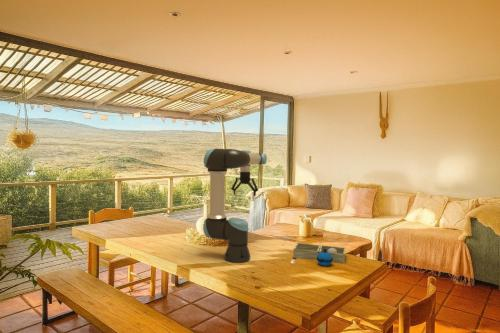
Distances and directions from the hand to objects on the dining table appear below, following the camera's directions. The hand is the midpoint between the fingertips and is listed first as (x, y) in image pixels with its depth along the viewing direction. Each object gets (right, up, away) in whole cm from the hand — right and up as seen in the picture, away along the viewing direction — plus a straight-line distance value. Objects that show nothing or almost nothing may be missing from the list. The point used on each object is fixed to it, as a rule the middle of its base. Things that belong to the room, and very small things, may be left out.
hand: (244, 200), depth 246 cm
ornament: (+46, -32, -58) cm, 81 cm away
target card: (+32, -31, -53) cm, 69 cm away
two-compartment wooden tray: (+46, -31, -44) cm, 71 cm away
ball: (+53, -30, -46) cm, 76 cm away
